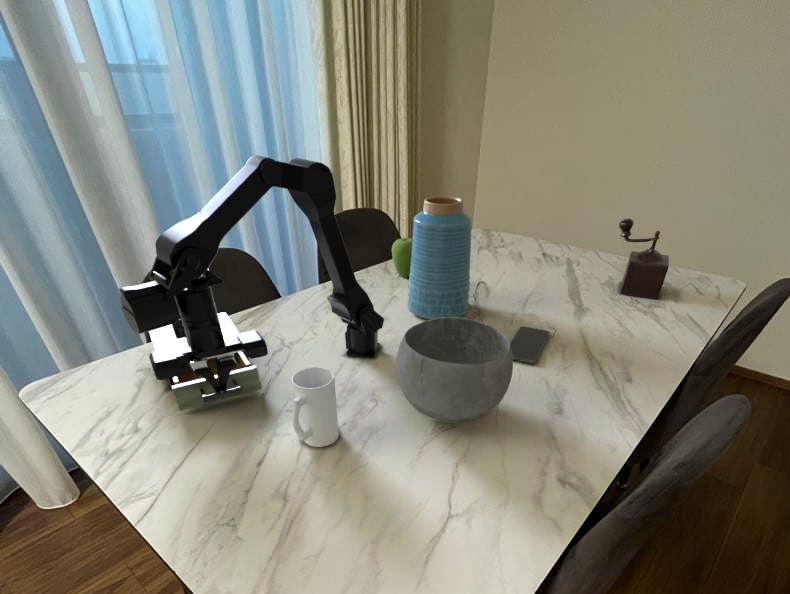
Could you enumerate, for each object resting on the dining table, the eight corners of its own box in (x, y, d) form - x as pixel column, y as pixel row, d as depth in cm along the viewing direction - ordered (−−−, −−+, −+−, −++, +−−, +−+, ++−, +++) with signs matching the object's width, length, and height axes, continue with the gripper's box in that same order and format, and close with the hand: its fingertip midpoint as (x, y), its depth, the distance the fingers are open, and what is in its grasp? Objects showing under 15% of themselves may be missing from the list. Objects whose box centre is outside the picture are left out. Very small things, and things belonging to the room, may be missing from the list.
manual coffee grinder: (658, 286, 140) (681, 222, 129) (658, 300, 132) (682, 232, 121) (603, 279, 145) (621, 216, 133) (600, 291, 137) (618, 225, 125)
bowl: (476, 458, 78) (486, 380, 69) (375, 419, 87) (372, 345, 77) (521, 400, 92) (534, 329, 82) (430, 371, 100) (433, 304, 91)
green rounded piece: (419, 281, 142) (420, 241, 135) (391, 280, 142) (391, 241, 135) (418, 271, 149) (419, 232, 142) (392, 271, 149) (392, 232, 142)
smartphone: (502, 354, 104) (520, 325, 116) (502, 358, 105) (519, 329, 116) (535, 361, 102) (550, 330, 113) (534, 365, 103) (549, 334, 114)
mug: (314, 421, 86) (306, 363, 78) (347, 430, 84) (341, 371, 76) (283, 453, 79) (270, 393, 71) (317, 464, 77) (308, 403, 69)
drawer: (268, 399, 90) (263, 377, 87) (184, 422, 84) (175, 400, 81) (241, 356, 103) (236, 336, 100) (166, 373, 97) (159, 352, 94)
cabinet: (251, 369, 101) (244, 341, 96) (168, 389, 94) (158, 360, 90) (231, 338, 112) (225, 312, 108) (156, 354, 105) (147, 327, 101)
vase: (397, 316, 122) (397, 203, 105) (420, 294, 134) (423, 190, 117) (457, 327, 117) (467, 211, 101) (475, 303, 129) (486, 196, 112)
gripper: (243, 289, 86) (259, 364, 96) (132, 308, 79) (161, 387, 89) (260, 310, 79) (275, 389, 89) (139, 334, 72) (171, 417, 81)
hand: (221, 394), depth 87 cm, fingers closed, pressing on drawer
